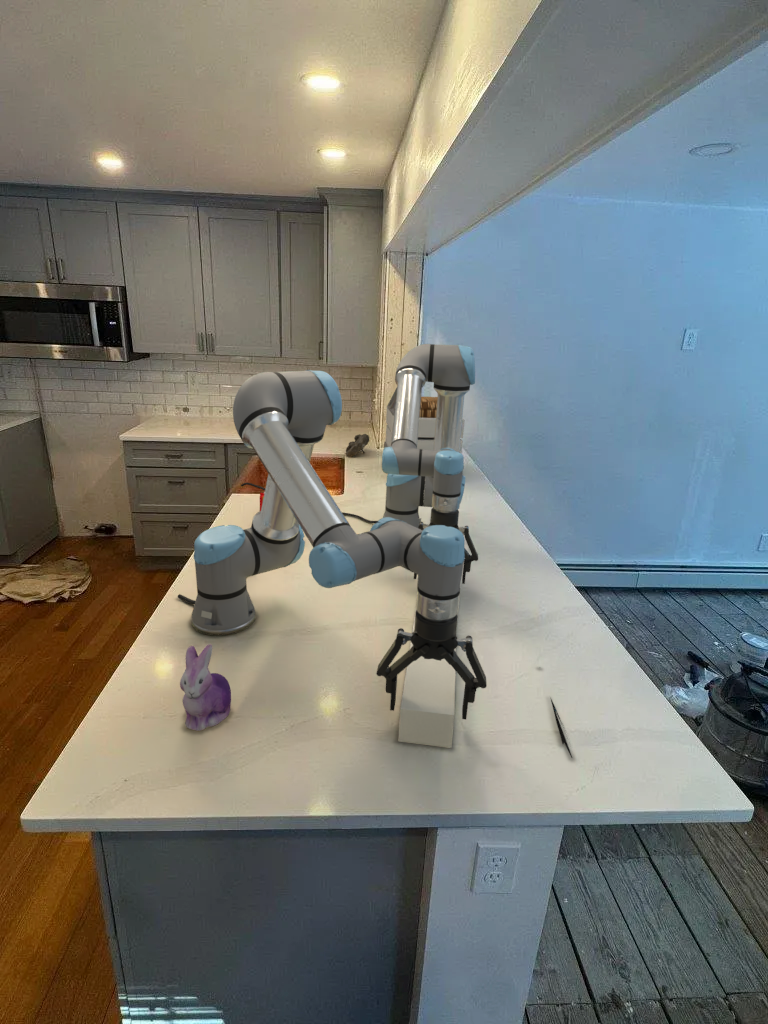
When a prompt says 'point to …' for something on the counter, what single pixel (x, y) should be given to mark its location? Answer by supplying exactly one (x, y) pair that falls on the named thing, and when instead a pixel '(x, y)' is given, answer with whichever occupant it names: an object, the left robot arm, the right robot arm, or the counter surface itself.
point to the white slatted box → (425, 423)
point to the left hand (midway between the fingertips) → (428, 710)
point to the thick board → (428, 703)
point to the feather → (560, 728)
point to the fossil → (357, 445)
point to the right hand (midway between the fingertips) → (439, 579)
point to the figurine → (204, 691)
